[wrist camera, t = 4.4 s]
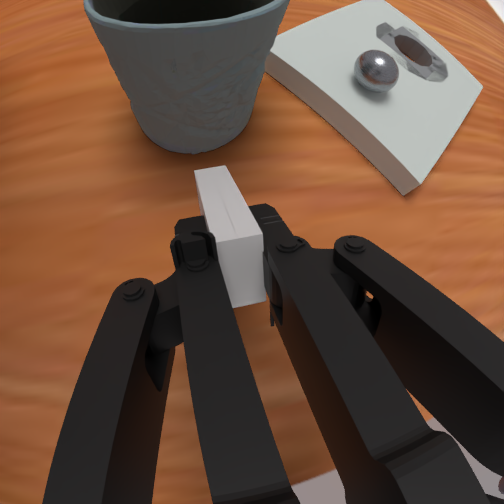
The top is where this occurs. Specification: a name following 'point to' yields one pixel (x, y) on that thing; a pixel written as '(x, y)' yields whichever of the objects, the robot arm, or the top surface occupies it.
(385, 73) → the steel ball
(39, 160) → the top surface
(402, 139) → the board
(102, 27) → the grey cup
